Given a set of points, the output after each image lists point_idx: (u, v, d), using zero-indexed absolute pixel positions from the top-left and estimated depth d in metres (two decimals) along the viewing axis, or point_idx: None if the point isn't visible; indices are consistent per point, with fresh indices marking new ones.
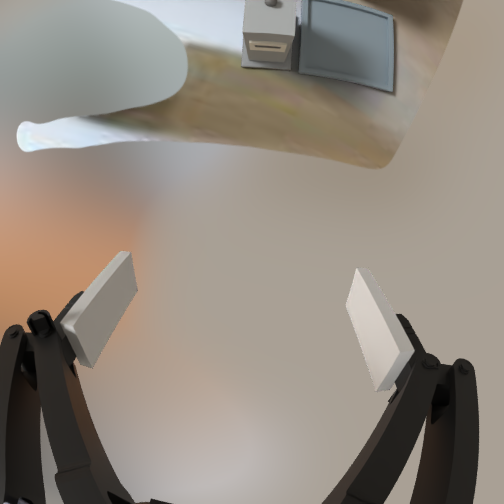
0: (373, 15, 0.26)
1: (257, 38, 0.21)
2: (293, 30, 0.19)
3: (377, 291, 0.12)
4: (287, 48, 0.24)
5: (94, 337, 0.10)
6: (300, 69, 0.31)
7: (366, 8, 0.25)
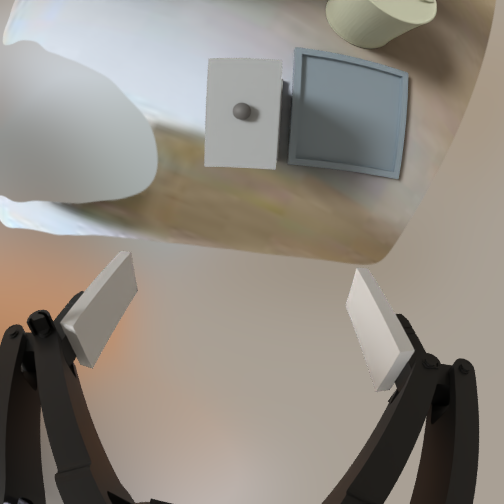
0: (384, 74, 0.25)
1: None
2: (274, 160, 0.18)
3: (377, 291, 0.12)
4: None
5: (94, 337, 0.10)
6: (289, 160, 0.30)
7: (376, 66, 0.24)
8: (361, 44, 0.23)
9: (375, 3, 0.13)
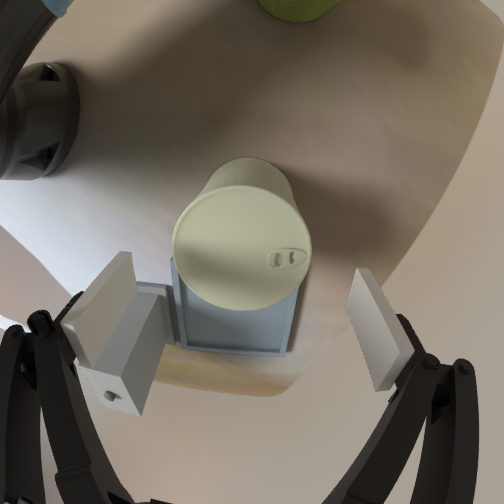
0: None
1: None
2: (138, 413, 0.24)
3: (377, 291, 0.12)
4: None
5: (94, 337, 0.10)
6: (182, 346, 0.36)
7: None
8: None
9: (203, 297, 0.19)
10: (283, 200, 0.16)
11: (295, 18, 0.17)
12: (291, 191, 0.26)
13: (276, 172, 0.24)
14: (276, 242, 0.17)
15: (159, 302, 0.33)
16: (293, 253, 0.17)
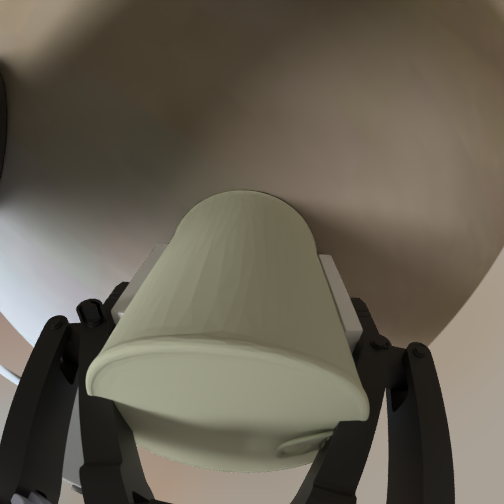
0: None
1: None
2: None
3: (334, 275, 0.14)
4: None
5: None
6: None
7: None
8: None
9: (165, 457, 0.09)
10: (327, 372, 0.05)
11: None
12: (314, 246, 0.16)
13: (292, 220, 0.14)
14: (296, 424, 0.07)
15: None
16: (329, 432, 0.07)
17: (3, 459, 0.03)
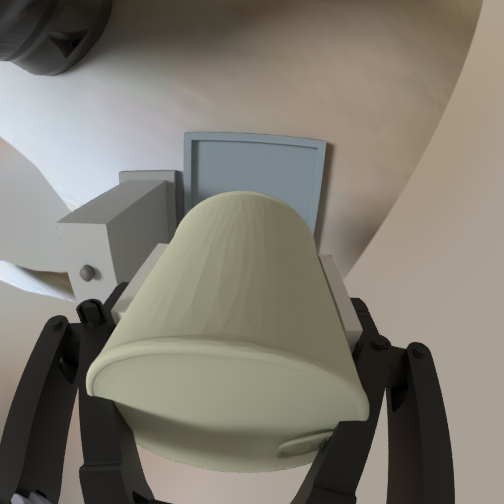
0: (293, 148, 0.27)
1: None
2: None
3: (334, 275, 0.14)
4: None
5: None
6: None
7: (281, 140, 0.26)
8: None
9: (166, 457, 0.09)
10: (327, 373, 0.05)
11: None
12: (314, 247, 0.16)
13: (292, 221, 0.14)
14: (297, 425, 0.07)
15: (165, 190, 0.28)
16: (329, 433, 0.07)
17: (3, 459, 0.03)
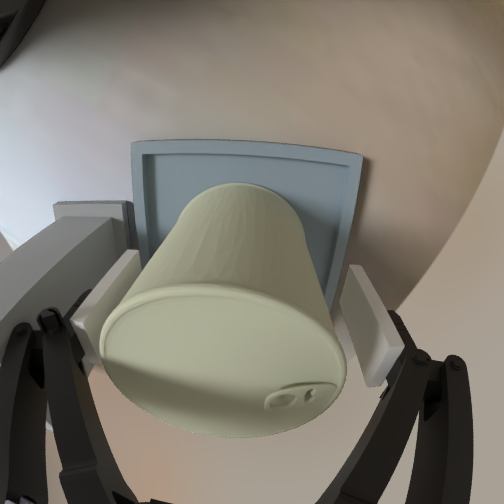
0: (309, 164, 0.16)
1: None
2: None
3: (369, 287, 0.13)
4: None
5: None
6: None
7: (290, 152, 0.15)
8: None
9: (166, 422, 0.10)
10: (302, 315, 0.07)
11: None
12: (303, 233, 0.18)
13: (282, 208, 0.15)
14: (282, 375, 0.08)
15: (111, 232, 0.18)
16: None
17: None
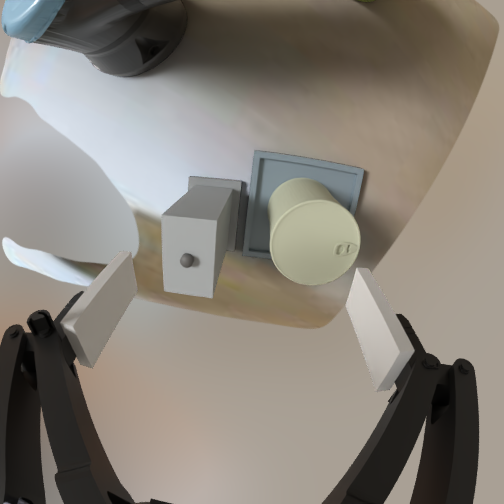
0: (338, 172, 0.34)
1: None
2: (211, 292, 0.26)
3: (377, 291, 0.12)
4: None
5: (94, 337, 0.10)
6: (243, 252, 0.38)
7: (331, 165, 0.33)
8: None
9: (285, 274, 0.27)
10: (347, 211, 0.24)
11: None
12: None
13: None
14: (339, 238, 0.25)
15: (232, 197, 0.35)
16: (349, 246, 0.26)
17: None
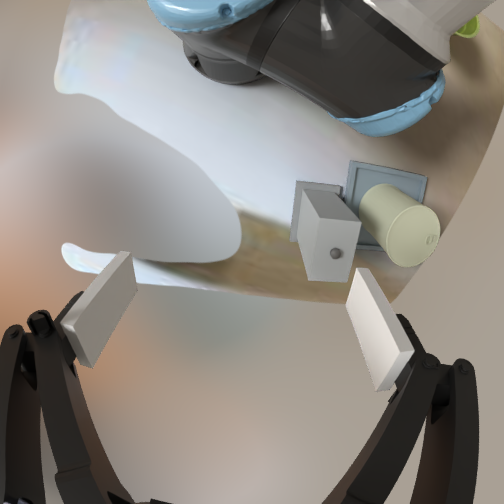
0: (409, 179, 0.39)
1: None
2: (347, 277, 0.32)
3: (377, 291, 0.12)
4: None
5: (94, 337, 0.10)
6: None
7: (406, 174, 0.38)
8: None
9: (393, 260, 0.33)
10: (434, 213, 0.30)
11: None
12: None
13: None
14: (428, 231, 0.31)
15: None
16: (433, 237, 0.31)
17: None
